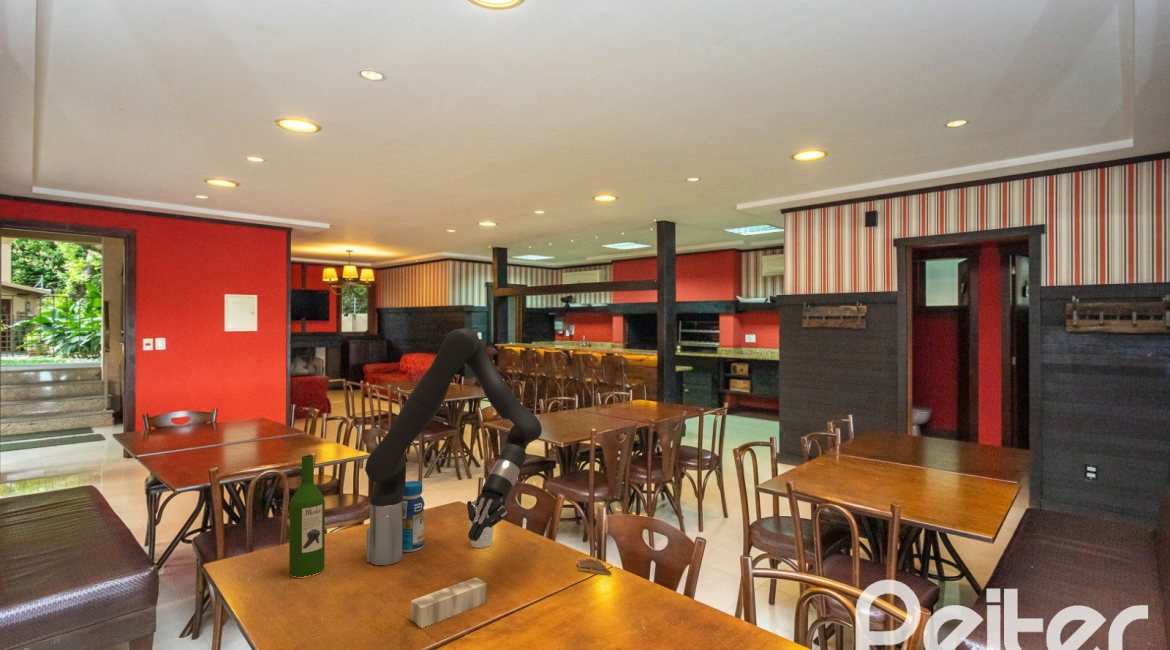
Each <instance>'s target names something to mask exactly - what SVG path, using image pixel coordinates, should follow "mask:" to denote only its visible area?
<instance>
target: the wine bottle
mask: <svg viewBox="0 0 1170 650" xmlns="http://www.w3.org/2000/svg"><path fill="white" fill-rule="evenodd" d="M314 472H315V471H314V455H313V454H306V455H303V456H301V477H300V478H301V480H300V481H301V483H300V485H299V487H298V488H297V490H296V491H295V493H294V495H292V497H291V499H290V502H289V551H288V552H289V561H288V562H289V569H288V571H289V576H290V575H292V576H296V577H304V576H309V575H313V574H316V573H319V572H321V571H322V570H323V569H324V570H325V568H324V567H326V566H325V564H326V563H325V561H326V560H325V556H326V554H325V553H326V552H325V551H326V549H325V548H326V547H325V545H326V544H325V543H326V542H325V541H326V539H325V537H326V535H325V534H326V532H325V531H326V530H325V528H326V526H325V525H326V522H325V521H326V520H325V519H326V517H325V516H326V514H325V513H326V501H325V497H324V496H325V495H324V494H323V493H322V492H321V490H320V489H319V488H318V486H317V485H316V483H315V479H314V477H315V476H314V474H315V473H314ZM324 570H323V571H324Z"/></svg>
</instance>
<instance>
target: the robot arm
mask: <svg viewBox="0 0 1170 650" xmlns="http://www.w3.org/2000/svg"><path fill="white" fill-rule="evenodd" d="M464 364H466V366H468V367H469V368H470V370H471V371H472V373H473V374H474V375H475V378H476V379H477V381H478V383H479V384H480V387H481V389H482V390H483V393H484V395H485V396H486V399H487V400H488V402H489V403H490V404H491V406H492V407H493V409H494V410H495V411H496V413H497V414H498V415H499V417H500V418H501V419H503V420H509V421H510V422H511V423H512V424H513V425H512V427H511V428H510V429H509V431H508V434H507V436H506V440H505V443H504V446H503V449H502V450H501V453H500V455H499V456H498V459H497V460H496V462H495V463H494V465H493V466H492V468H491V470H490V472H489V474H488V476H487V477H486V479H485V482H484V484H483V485H482V488H481V492H480V494H479V495H478V496H477V497H476V499H475V500H474V501H472V500H468V501H467V502H466V505H467V506H466V507H467V514H468V520H469V521H470V520H471V522H472V523H473V525H472V527H471V529H470V528H469V531H468V533H467V536H468V537H467V538H468V539H469V540H470V541H471V540H472V541H477V539H479V538H480V536H481V534H482V532H483V530H484V529H485V528H486V527H489V528H491V527H493V526H494V527H495V525H497V524H498V523H500V522H501V521H502V520H504V519H505V518H506V517H508V516H509V512H508V511H507V509H506V508H505V506H506V502H507V501H508V500H509V497H510V495H511V493H512V491H513V489H514V487H515V484H516V483H517V480H518V477H519V475H520V472H521V469H522V468H523V465H524V464H525V462H526V458H527V452H526V451H527V450H526V449H527V447H528V445H529V444H530V443H532V442H534V441H536V440H538V439H539V438H540V437H541V435H542V432H543V431H542V430H543V429H542V425H541V422H540V420H539V419H538V417H537V416H536V415H535V414H534V413H533V412H532V411H530V410H529V409H528V408H527V407H526V406H525V405H524V404H522V403H521V402H520V401H519V399H518V398H517V396H516V395H515V394H514V392H513V391H512V389H511V388H510V387H509V385H508V384H507V382H506V381H505V380H504V378H503V377H502V376H501V374H500V373H499V372H498V370H497V369H496V367H495V365H494V364H493V362H492V360H491V358H490V357H489V355H488V354H487V352H486V350H485V348H484V345H483V343H482V342H481V340H480V338H479V335H478V334H477V333H476V332H475V331H474V330H472V329H471V328H465V327H464V328H457V329H453V330H452V331H450V332H449V333H448V334H446V337H445V338H444V340H443V341H442V344H441V346H440V347H439V350H438V352H437V354H436V355H435V357H434V360H433V362H432V363H431V365H430V367H429V368H428V369H427V370H426V371H425V373H424V374H423V376H422V377H421V379H420V380H419V382H418V383H417V384H416V386H415V387H414V388H413V390H412V392H411V393H410V395H409V396H408V397H407V399H406V401H405V403H404V404H403V406H402V408H401V410H400V411H399V413H398V414H397V416H396V418H395V419H394V421H393V423H392V424H391V427H390V428H389V430H388V432H386V435H385V436H384V437H383V438H382V440H381V441H380V442H379V443H378V445H377V446H376V447H375V449H374V450H373V451H372V452H371V453H370V455H369V456H368V458H367V460H366V461H365V463H366V464H365V473H366V475H367V477H368V478H369V479H370V480H371V481H372V482H374V486H373V488H372V490H371V492H370V495H369V528H368V529H366V563H367V562H371V563H372V565H373V564H375V565H374V566H377V565H385V566H391V565H394V563H395V564H397V563H399V562H401V561H402V560H403V556H404V555H403V553H404V552H403V493H404V490H405V483H406V482H407V481H406V480H407V479H406V478H407V477H406V476H407V458H406V455H405V452H406V451H407V450H408V448H409V447H410V445H411V444H412V443H413V442H414V441H415V440H416V439H417V438H418V437H419V436H420V435H421V434H422V432H423V431H424V430H425V429H426V428H427V427H428V426H429V424H430V423H431V422H432V420H433V419H434V418H435V416H436V415H437V413H438V412H439V410H440V408H441V407H442V405H443V403H444V401H445V400H446V399H445V398H446V396H447V395H448V394H447V393H448V391H449V388H450V385H451V383H452V381H453V379H454V377H455V376H456V375H457V373H458V372H459V371H460V369H461V368H462V367H463V366H464ZM476 510H477V511H476ZM491 521H492V522H491ZM371 563H370V564H371ZM390 564H391V565H390Z"/></svg>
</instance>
